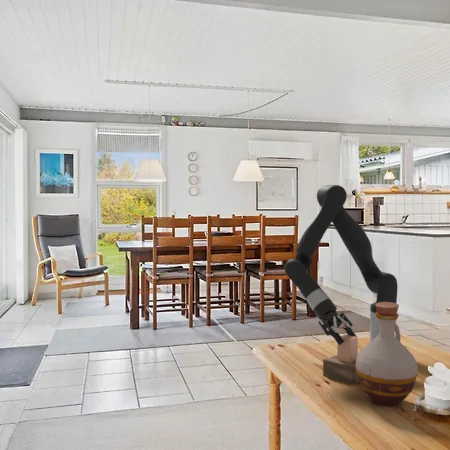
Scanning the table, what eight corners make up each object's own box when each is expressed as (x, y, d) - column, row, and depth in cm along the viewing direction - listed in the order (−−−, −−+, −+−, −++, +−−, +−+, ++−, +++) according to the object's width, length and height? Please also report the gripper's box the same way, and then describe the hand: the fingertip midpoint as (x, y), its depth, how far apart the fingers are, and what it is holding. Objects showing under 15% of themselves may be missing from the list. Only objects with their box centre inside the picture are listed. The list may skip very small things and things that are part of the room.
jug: (371, 385, 160) (372, 295, 159) (426, 398, 149) (428, 302, 148) (345, 403, 145) (346, 304, 144) (404, 419, 134) (406, 312, 133)
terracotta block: (344, 356, 173) (344, 334, 172) (357, 359, 169) (357, 337, 169) (337, 359, 169) (337, 337, 169) (350, 362, 166) (350, 339, 165)
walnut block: (343, 368, 178) (343, 352, 177) (372, 377, 169) (372, 360, 168) (323, 376, 170) (323, 359, 169) (352, 385, 161) (352, 367, 160)
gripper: (316, 300, 169) (344, 338, 162) (338, 295, 179) (365, 331, 172) (303, 313, 173) (330, 351, 166) (325, 307, 183) (352, 343, 176)
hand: (348, 341), depth 169 cm, fingers open, 8 cm apart
